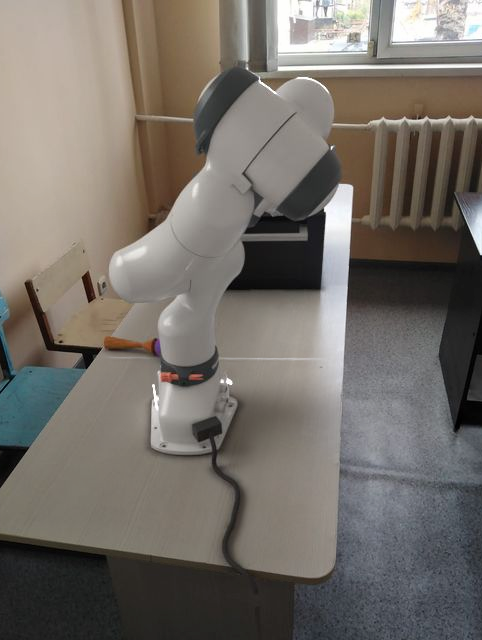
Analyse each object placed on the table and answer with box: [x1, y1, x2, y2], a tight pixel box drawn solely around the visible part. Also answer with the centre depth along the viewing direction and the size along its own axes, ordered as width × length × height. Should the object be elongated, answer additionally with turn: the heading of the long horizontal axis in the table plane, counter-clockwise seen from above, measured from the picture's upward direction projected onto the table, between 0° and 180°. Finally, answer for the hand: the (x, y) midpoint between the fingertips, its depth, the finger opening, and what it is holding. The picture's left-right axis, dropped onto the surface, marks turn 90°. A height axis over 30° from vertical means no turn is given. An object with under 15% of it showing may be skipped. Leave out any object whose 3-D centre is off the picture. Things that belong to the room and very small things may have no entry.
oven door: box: [225, 211, 327, 291], centre depth 151 cm, size 7×40×26 cm, turn 85°
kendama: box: [103, 335, 161, 358], centre depth 135 cm, size 6×6×20 cm
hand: (278, 213), depth 134 cm, fingers closed
